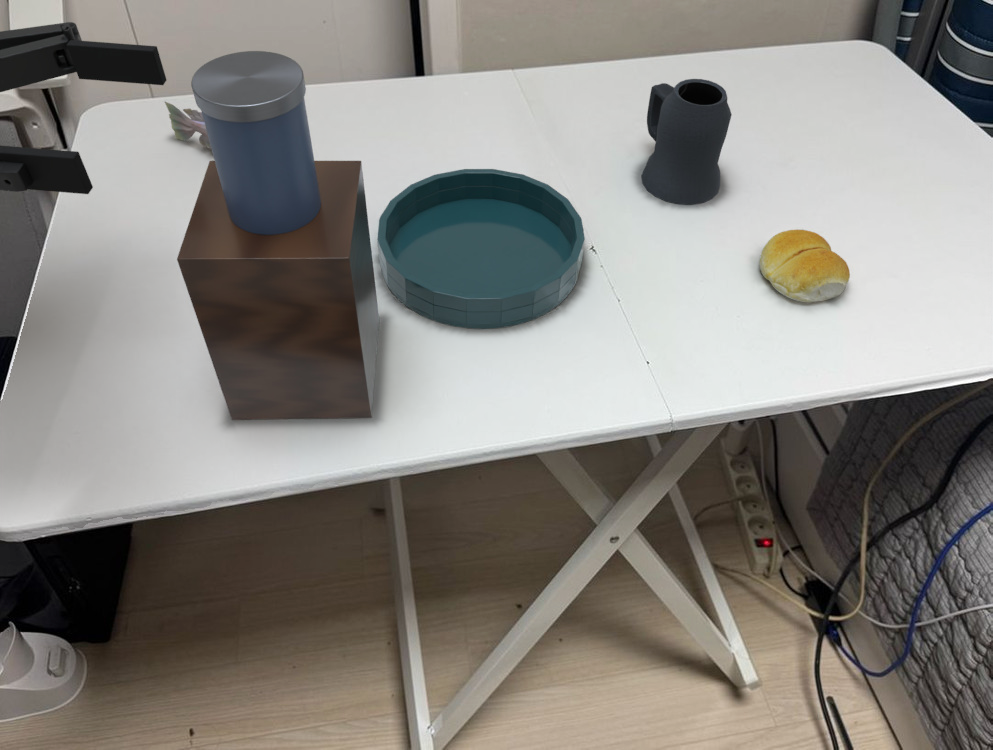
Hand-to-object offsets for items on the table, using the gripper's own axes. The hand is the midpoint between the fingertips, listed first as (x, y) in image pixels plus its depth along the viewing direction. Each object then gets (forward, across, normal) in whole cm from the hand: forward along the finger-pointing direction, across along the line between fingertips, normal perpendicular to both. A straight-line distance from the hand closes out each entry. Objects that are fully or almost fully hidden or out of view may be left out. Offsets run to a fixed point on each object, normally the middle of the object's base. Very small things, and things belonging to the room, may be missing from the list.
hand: (125, 115), depth 57 cm
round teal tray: (+23, -17, -25) cm, 38 cm away
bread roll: (+56, -18, -25) cm, 64 cm away
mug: (+44, -35, -25) cm, 62 cm away
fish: (-9, -32, -25) cm, 42 cm away
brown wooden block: (+9, 0, -25) cm, 27 cm away
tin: (+9, 0, -7) cm, 12 cm away
